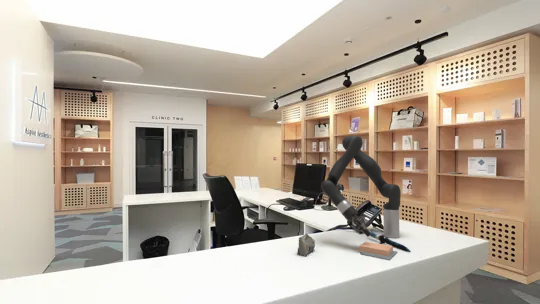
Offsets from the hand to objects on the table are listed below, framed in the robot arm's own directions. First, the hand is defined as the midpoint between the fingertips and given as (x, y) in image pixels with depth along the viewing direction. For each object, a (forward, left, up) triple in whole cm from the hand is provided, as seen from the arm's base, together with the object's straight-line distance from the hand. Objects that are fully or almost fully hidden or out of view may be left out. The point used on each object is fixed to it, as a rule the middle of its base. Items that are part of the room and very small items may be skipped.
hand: (369, 235), depth 143 cm
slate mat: (0, +5, -8) cm, 10 cm away
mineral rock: (+22, -24, -9) cm, 34 cm away
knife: (-18, +4, -8) cm, 20 cm away
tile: (0, -4, -6) cm, 7 cm away
